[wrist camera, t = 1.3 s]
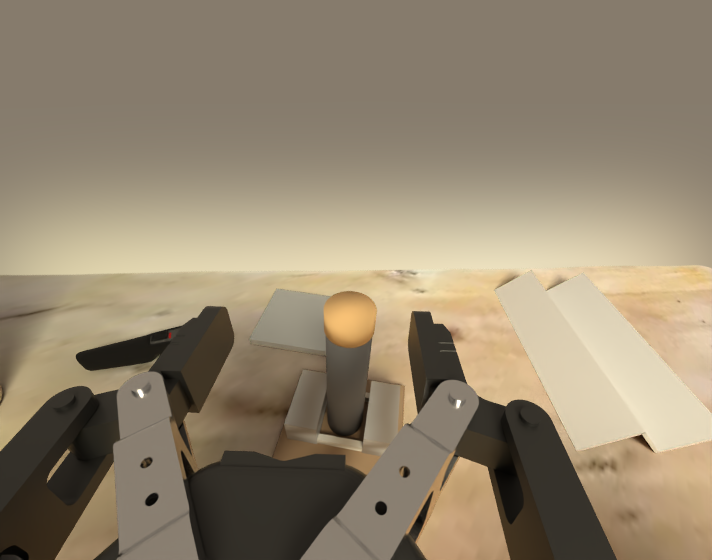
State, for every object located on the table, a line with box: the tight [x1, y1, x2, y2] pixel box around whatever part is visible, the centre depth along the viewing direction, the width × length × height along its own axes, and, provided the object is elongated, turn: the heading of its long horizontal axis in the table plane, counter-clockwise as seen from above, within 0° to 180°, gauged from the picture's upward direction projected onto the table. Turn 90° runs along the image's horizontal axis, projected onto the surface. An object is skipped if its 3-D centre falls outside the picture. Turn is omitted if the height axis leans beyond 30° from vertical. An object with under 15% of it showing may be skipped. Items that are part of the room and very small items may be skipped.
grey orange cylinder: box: [324, 291, 377, 436], centre depth 27 cm, size 4×4×16 cm
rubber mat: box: [249, 289, 331, 356], centre depth 44 cm, size 10×10×1 cm
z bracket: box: [494, 270, 712, 453], centre depth 41 cm, size 12×25×6 cm
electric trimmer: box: [76, 326, 182, 371], centre depth 39 cm, size 4×16×3 cm, turn 112°
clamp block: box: [272, 369, 405, 475], centre depth 32 cm, size 12×10×4 cm
